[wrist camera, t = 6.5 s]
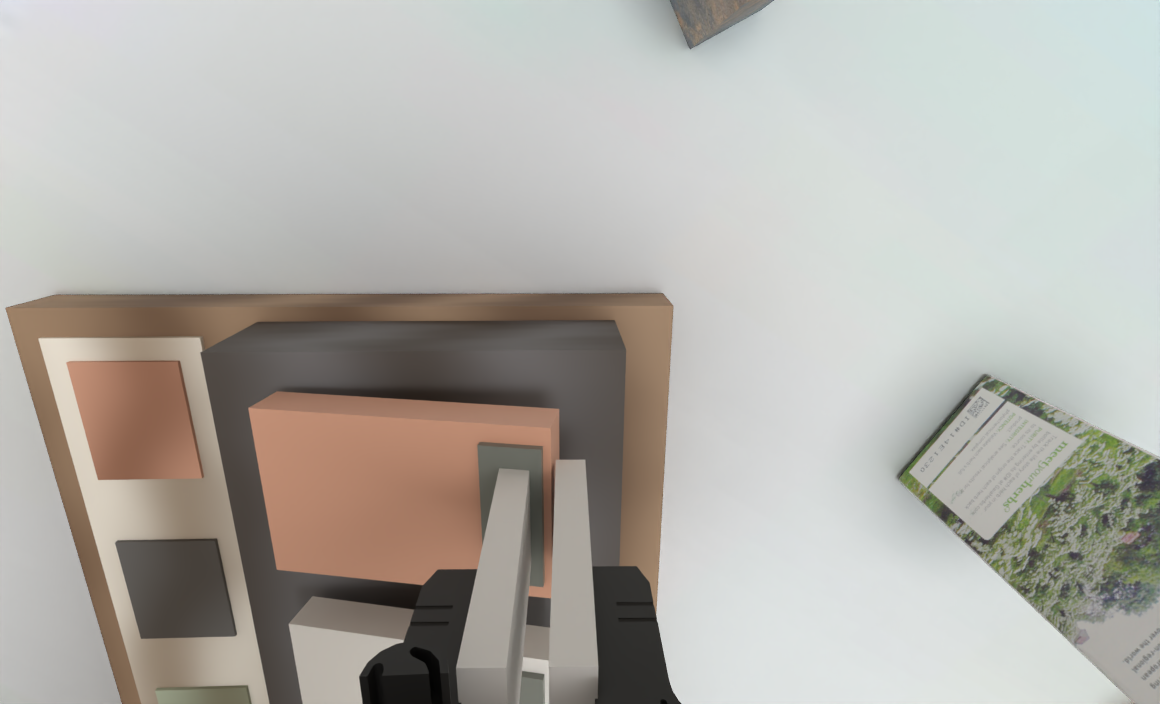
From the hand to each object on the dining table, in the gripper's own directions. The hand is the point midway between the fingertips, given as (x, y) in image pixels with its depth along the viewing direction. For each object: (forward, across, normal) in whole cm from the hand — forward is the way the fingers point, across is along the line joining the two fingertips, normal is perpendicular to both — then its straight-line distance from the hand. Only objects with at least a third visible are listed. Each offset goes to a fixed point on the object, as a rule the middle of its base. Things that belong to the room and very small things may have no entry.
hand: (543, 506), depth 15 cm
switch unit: (+8, -7, -7) cm, 13 cm away
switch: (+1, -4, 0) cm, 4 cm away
